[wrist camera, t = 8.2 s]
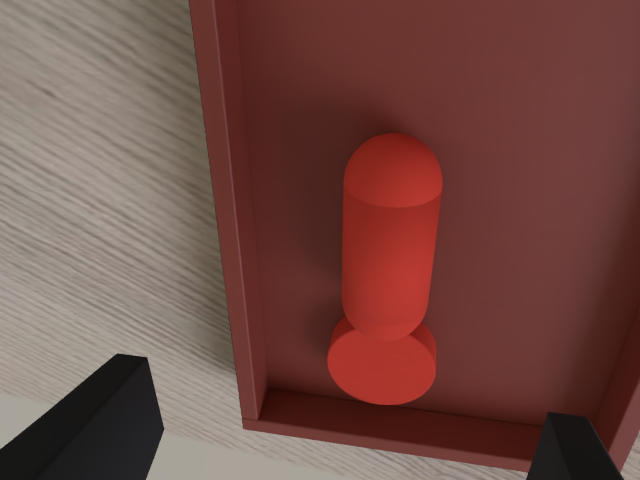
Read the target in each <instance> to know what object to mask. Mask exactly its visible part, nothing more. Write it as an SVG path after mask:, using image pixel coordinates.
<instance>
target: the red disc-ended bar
mask: <svg viewBox="0 0 640 480" xmlns="http://www.w3.org/2000/svg"><path fill="white" fill-rule="evenodd" d="M442 182H443V178H442V173H441V168H440V164H439V162H438V160H437V158H436V156H435V155H434V153H433V152H432V151H431V150H430V148H429V147H428V146H426V145H425V144H424V143H423V142H421V141H420V140H418V139H417V138H414V137H412V136H409V135H406V134H402V133H386V134H382V135H378V136H375V137H373V138H371V139H369V140H368V141H366V142H364V143H363V144H362V145H361V146H360V147H359V148H358V149H357V150H356V151H355V152H354V153H353V155H352V156H351V158H350V160H349V161H348V164H347V166H346V169H345V175H344V182H343V244H342V305H343V309H344V312H345V315H346V316H345V317H343V318H342V319H341V320H340V321H339V322H338V323H337V325H336V326H335V328H334V330H333V333H332V337H331V341H330V345H329V349H328V353H327V366H328V370H329V373H330V375H331V377H332V378H333V380H334V381H335V383H336V384H337V385H338V386H339V387H340V388H341V389H342V390H344V391H345V392H346V393H348V394H350V395H351V396H353V397H355V398H357V399H359V400H362V401H365V402H369V403H373V404H379V405H398V404H403V403H407V402H410V401H412V400H415V399H417V398H418V397H420V396H422V395H423V394H424V393H425V392H426V391H427V390H428V389H429V388H430V386H431V385H432V383H433V381H434V379H435V374H436V343H435V340H434V337H433V335H432V333H431V332H430V330H429V329H428V328H427V326H426V325H425V324H424V323H423V322H421V321H422V319H423V317H424V316H425V314H426V310H427V306H428V300H429V292H430V283H431V275H432V267H433V259H434V251H435V243H436V235H437V227H438V219H439V211H440V202H441V194H442Z"/></svg>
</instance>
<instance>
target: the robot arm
mask: <svg viewBox="0 0 640 480" xmlns="http://www.w3.org/2000/svg"><path fill="white" fill-rule="evenodd" d="M163 431H164V426H163V422H162V418H161V414H160V409H159V405H158V401H157V397H156V392H155V388H154V384H153V380H152V376H151V371H150V367H149V363H148V359H147V357H140V356H133V355H125V354H118V353H117V354H116V355H115V356H113V357H112V358H111V359H110V360H109V361H107V362H106V363H105V364H104V365H102V366H101V367H100V368H99V369H98V370H96V371H95V372H94V373H93V374H92V375H90V376H89V377H88V378H87V379H86V380H84V381H83V382H82V383H81V384H80V385H78V386H77V387H76V388H75V389H74V390H72V391H71V392H70V393H69V394H68V395H66V396H65V397H64V398H63V399H62V400H60V401H59V402H58V403H57V404H56V405H55V406H53V407H52V408H51V409H50V410H49V411H47V412H46V413H45V414H44V415H43V416H41V417H40V418H39V419H37V420H36V421H35V422H34V423H32V424H31V425H30V426H29V427H28V428H26V429H25V430H24V431H23V432H21V433H20V434H19V435H18V436H16V437H15V438H14V439H13V440H12V441H10V442H9V443H8V444H6V445H5V446H4V447H3V448H1V449H0V480H146V478H147V475H148V472H149V470H150V467H151V464H152V462H153V459H154V456H155V454H156V451H157V448H158V445H159V442H160V440H161V437H162V434H163ZM526 480H624V479H623V477H622V475H621V474H620V472H619V470H618V469H617V467H616V465H615V464H614V462H613V460H612V458H611V457H610V455H609V453H608V451H607V450H606V448H605V446H604V444H603V443H602V441H601V439H600V437H599V436H598V434H597V432H596V430H595V428H594V427H593V425H592V423H591V422H590V421H589V419H588V418H587V417H585V416H577V415H570V414H563V413H555V412H548V413H547V416H546V419H545V422H544V425H543V428H542V432H541V435H540V438H539V441H538V444H537V447H536V450H535V454H534V457H533V460H532V463H531V466H530V469H529V472H528V476H527V479H526Z"/></svg>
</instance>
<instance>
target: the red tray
mask: <svg viewBox="0 0 640 480" xmlns="http://www.w3.org/2000/svg"><path fill="white" fill-rule="evenodd" d="M189 7H190V14H191V22H192V30H193V38H194V46H195V54H196V62H197V69H198V77H199V85H200V93H201V101H202V109H203V117H204V124H205V132H206V140H207V148H208V156H209V164H210V172H211V179H212V187H213V195H214V203H215V211H216V219H217V227H218V234H219V242H220V250H221V258H222V266H223V274H224V282H225V289H226V297H227V305H228V313H229V321H230V329H231V337H232V344H233V352H234V360H235V368H236V376H237V384H238V392H239V399H240V407H241V415H242V423H243V429H246V430H253V431H259V432H266V433H272V434H279V435H285V436H292V437H299V438H305V439H312V440H318V441H325V442H331V443H338V444H345V445H351V446H358V447H364V448H371V449H377V450H384V451H391V452H397V453H404V454H410V455H417V456H423V457H430V458H437V459H443V460H450V461H456V462H463V463H470V464H476V465H483V466H489V467H496V468H502V469H509V470H516V471H522V472H529V469H530V466H531V463H532V460H533V457H534V454H535V450H536V447H537V444H538V441H539V438H540V435H541V432H542V428H543V425H544V422H545V419H546V416H547V413H548V412H555V413H563V414H570V415H577V416H585V417H587V418H588V419H589V421H590V422H591V423H592V425H593V427H594V428H595V430H596V432H597V434H598V436H599V437H600V439H601V441H602V443H603V444H604V446H605V448H606V450H607V451H608V453H609V455H610V457H611V458H612V460H613V462H614V464H615V465H616V467H617V469H618V470H619V472H621V470H622V468H623V466H624V463H625V461H626V459H627V457H628V455H629V453H630V450H631V448H632V446H633V444H634V442H635V440H636V437H637V435H638V433H639V431H640V0H189ZM386 133H402V134H406V135H409V136H412V137H414V138H417V139H418V140H420V141H421V142H423V143H424V144H425V145H426V146H428V147H429V148H430V150H431V151H432V152H433V153H434V155H435V156H436V158H437V160H438V162H439V164H440V168H441V173H442V178H443V182H442V194H441V202H440V211H439V219H438V227H437V235H436V243H435V251H434V259H433V267H432V275H431V283H430V292H429V300H428V306H427V310H426V314H425V316H424V317H423V319H422V321H421V322H423V323H424V324H425V325H426V326H427V328H428V329H429V330H430V332H431V333H432V335H433V337H434V340H435V343H436V374H435V379H434V381H433V383H432V385H431V386H430V388H429V389H428V390H427V391H426V392H425V393H424V394H423V395H422V396H420V397H418V398H417V399H415V400H412V401H410V402H407V403H403V404H398V405H379V404H373V403H369V402H365V401H362V400H359V399H357V398H355V397H353V396H351V395H350V394H348V393H346V392H345V391H344V390H342V389H341V388H340V387H339V386H338V385H337V384H336V383H335V381H334V380H333V378H332V377H331V375H330V373H329V370H328V366H327V353H328V349H329V345H330V341H331V337H332V333H333V330H334V328H335V326H336V325H337V323H338V322H339V321H340V320H341V319H342V318H343V317H345V316H346V315H345V312H344V309H343V305H342V244H343V182H344V175H345V169H346V166H347V164H348V161H349V160H350V158H351V156H352V155H353V153H354V152H355V151H356V150H357V149H358V148H359V147H360V146H361V145H362V144H363V143H364V142H366V141H368V140H369V139H371V138H373V137H375V136H378V135H382V134H386Z"/></svg>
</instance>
